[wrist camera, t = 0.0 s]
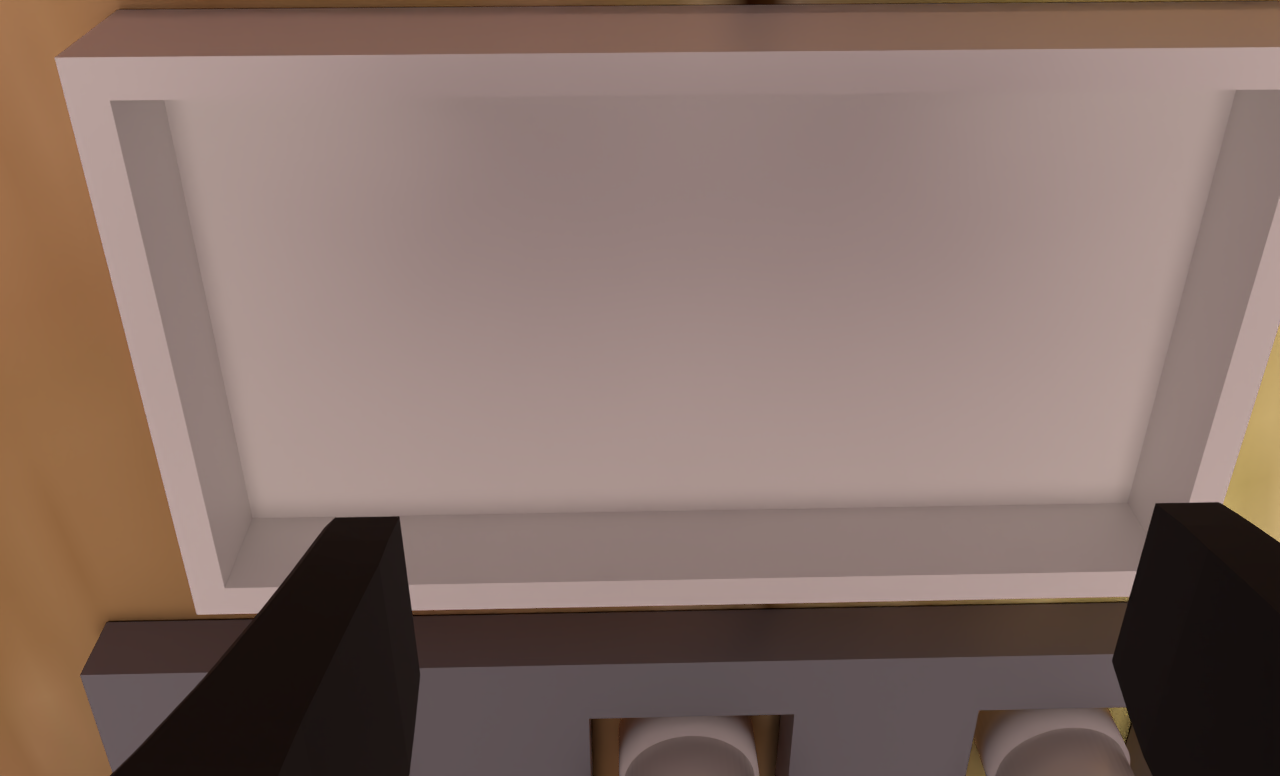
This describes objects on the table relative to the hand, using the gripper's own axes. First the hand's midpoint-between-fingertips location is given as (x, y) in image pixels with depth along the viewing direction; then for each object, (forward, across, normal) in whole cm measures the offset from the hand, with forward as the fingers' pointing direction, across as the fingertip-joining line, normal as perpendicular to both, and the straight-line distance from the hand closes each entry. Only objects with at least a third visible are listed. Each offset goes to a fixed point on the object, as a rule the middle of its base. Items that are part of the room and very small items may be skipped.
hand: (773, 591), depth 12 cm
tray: (+10, 0, +2) cm, 10 cm away
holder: (+10, 0, +13) cm, 16 cm away
